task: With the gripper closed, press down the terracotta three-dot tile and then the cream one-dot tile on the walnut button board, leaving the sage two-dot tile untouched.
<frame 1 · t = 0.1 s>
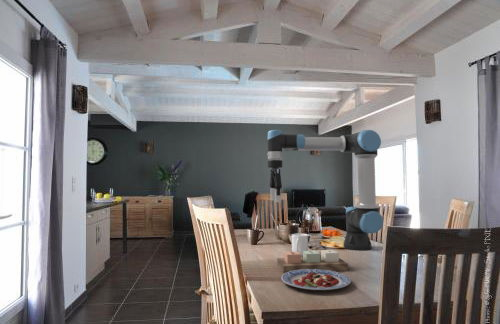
hand: (275, 201, 176), 28 cm above the table, fingers open, 13 cm apart
tile three: (292, 257, 151), point 5 cm above the table, slide at 0.0 cm
button board: (311, 267, 152), on the table
tile two: (311, 257, 152), point 5 cm above the table, slide at 0.0 cm
ceramic plate: (315, 284, 129), on the table
cup: (299, 255, 177), on the table
tile one: (329, 256, 153), point 5 cm above the table, slide at 0.0 cm
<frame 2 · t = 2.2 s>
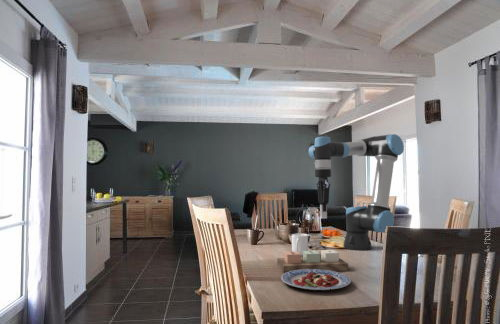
hand: (323, 218, 163), 20 cm above the table, fingers closed
nothing on the table moved.
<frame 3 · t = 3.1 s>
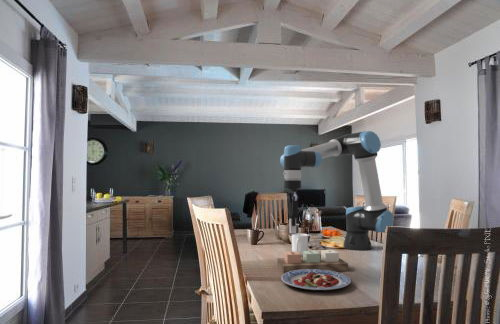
hand: (292, 233, 152), 15 cm above the table, fingers closed
nothing on the table moved.
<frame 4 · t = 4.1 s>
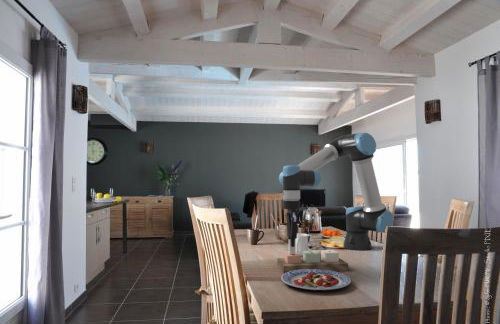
hand: (292, 253, 151), 6 cm above the table, fingers closed
tile three: (292, 259, 151), point 4 cm above the table, slide at 0.6 cm, touching gripper
everything else where it was.
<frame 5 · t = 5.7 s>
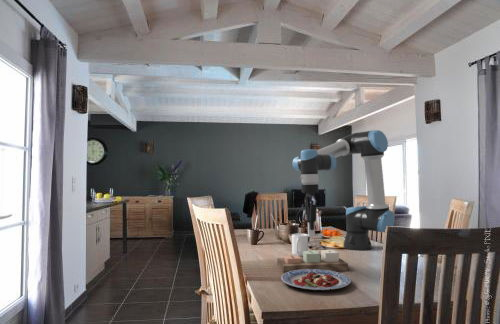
hand: (311, 236, 153), 14 cm above the table, fingers closed
tile three: (292, 261, 151), point 3 cm above the table, slide at 1.8 cm
everything else where it was.
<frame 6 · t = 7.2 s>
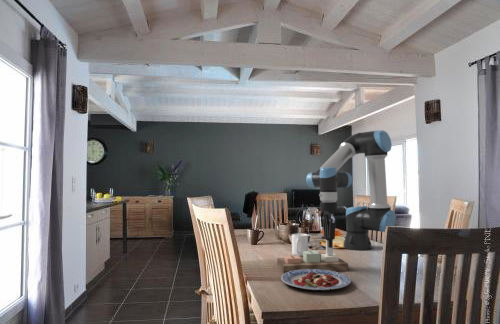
hand: (329, 254, 153), 5 cm above the table, fingers closed
tile one: (329, 260, 153), point 3 cm above the table, slide at 1.6 cm
everything else where it was.
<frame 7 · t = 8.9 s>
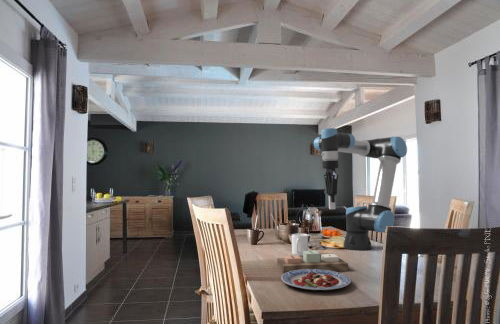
hand: (332, 209, 165), 25 cm above the table, fingers closed
nothing on the table moved.
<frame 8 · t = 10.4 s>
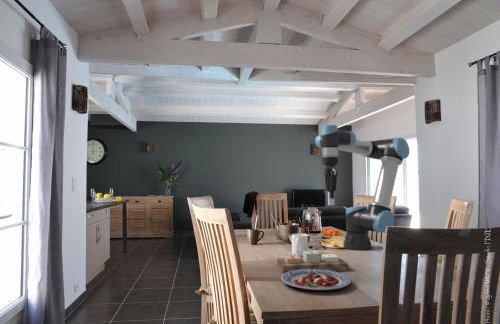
hand: (331, 205, 167), 26 cm above the table, fingers closed
nothing on the table moved.
at the end: tile three slide at 1.8 cm; tile one slide at 1.8 cm; tile two slide at 0.0 cm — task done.
